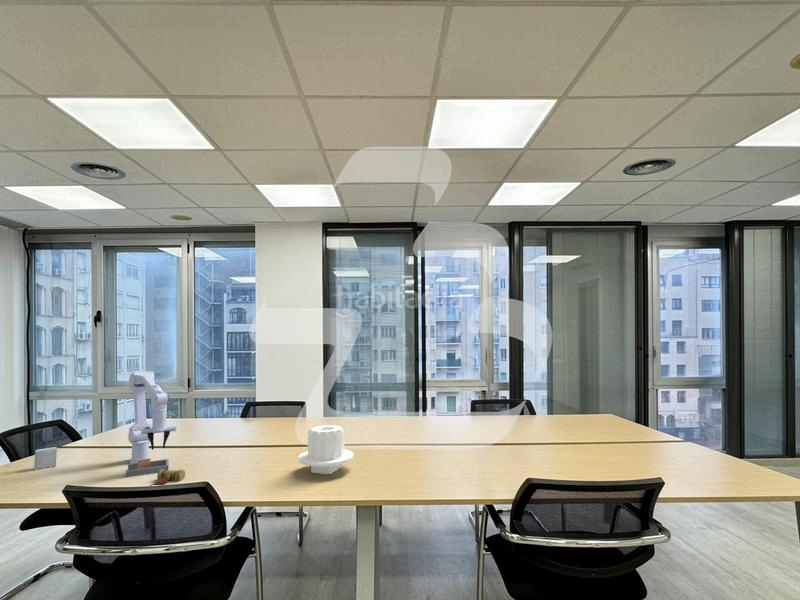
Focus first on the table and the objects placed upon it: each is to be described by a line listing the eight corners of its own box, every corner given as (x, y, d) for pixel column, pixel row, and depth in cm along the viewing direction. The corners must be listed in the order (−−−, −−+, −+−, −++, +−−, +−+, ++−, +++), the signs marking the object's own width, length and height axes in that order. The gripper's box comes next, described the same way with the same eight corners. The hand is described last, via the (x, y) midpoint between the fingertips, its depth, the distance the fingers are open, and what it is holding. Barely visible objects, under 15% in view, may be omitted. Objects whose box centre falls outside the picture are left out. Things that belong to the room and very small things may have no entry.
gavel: (155, 488, 163) (130, 488, 163) (155, 500, 163) (130, 500, 163) (185, 468, 184) (163, 467, 184) (185, 478, 184) (163, 478, 184)
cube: (137, 470, 195) (138, 459, 195) (150, 468, 197) (150, 458, 198) (136, 473, 190) (137, 462, 191) (149, 471, 193) (150, 460, 193)
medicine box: (55, 464, 204) (56, 446, 205) (56, 466, 201) (57, 448, 202) (33, 468, 199) (34, 449, 199) (34, 470, 195) (35, 451, 196)
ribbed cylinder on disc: (336, 482, 177) (337, 436, 178) (286, 476, 185) (287, 432, 187) (362, 465, 200) (362, 424, 202) (316, 460, 209) (317, 421, 210)
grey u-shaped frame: (128, 469, 196) (128, 464, 196) (168, 464, 204) (168, 458, 204) (125, 477, 185) (126, 471, 186) (168, 471, 193) (168, 465, 194)
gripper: (141, 422, 191) (139, 452, 190) (176, 418, 198) (175, 448, 197) (141, 419, 198) (140, 449, 196) (176, 416, 205) (175, 444, 203)
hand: (158, 448), depth 197 cm, fingers open, 4 cm apart
